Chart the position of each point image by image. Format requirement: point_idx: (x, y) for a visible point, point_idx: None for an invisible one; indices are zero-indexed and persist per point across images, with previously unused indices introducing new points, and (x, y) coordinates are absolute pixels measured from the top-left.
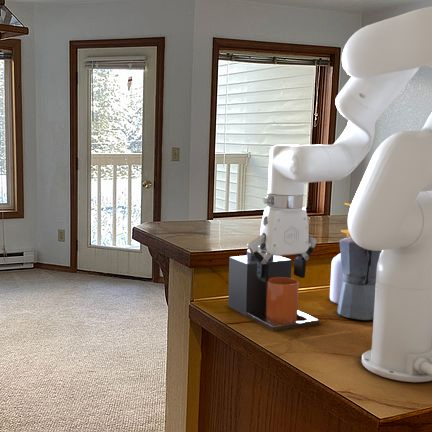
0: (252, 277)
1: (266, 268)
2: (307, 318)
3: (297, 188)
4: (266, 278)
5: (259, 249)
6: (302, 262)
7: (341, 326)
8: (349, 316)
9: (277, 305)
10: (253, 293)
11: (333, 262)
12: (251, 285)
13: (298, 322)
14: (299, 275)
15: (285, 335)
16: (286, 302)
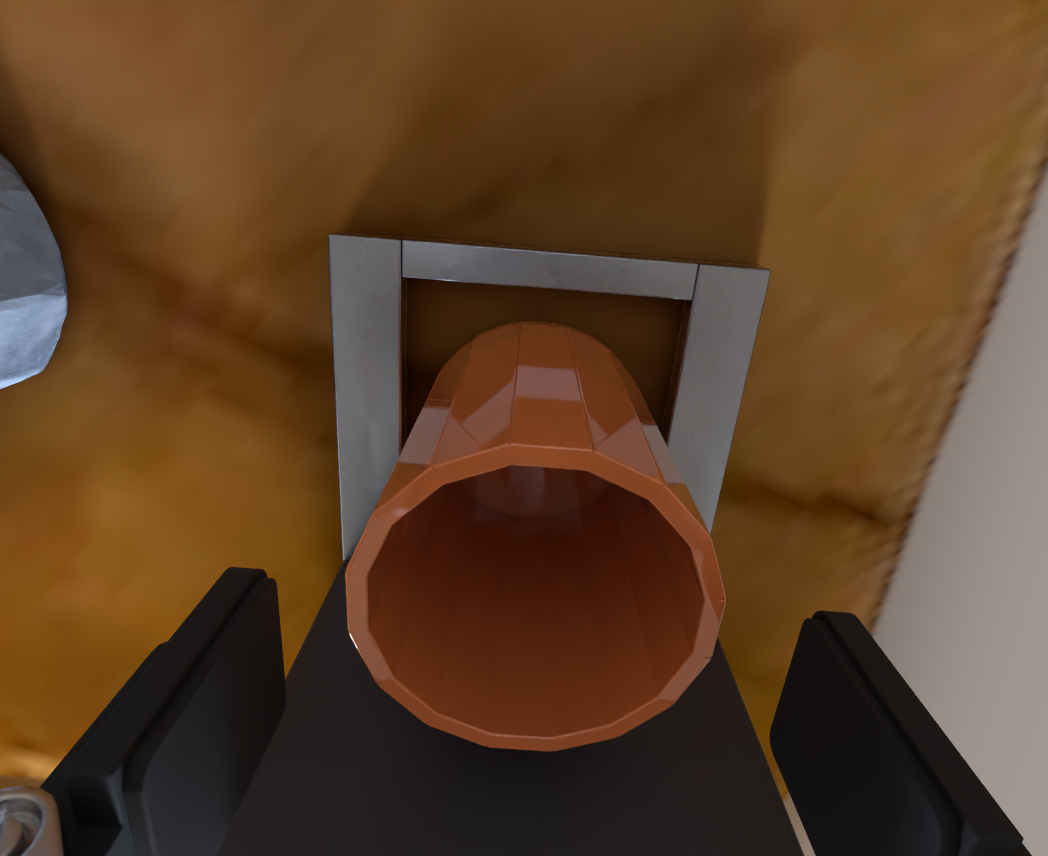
0: (726, 818)
1: (963, 765)
2: (394, 304)
3: None
4: (861, 638)
5: None
6: (154, 758)
7: (194, 108)
8: (24, 193)
9: (651, 421)
10: None
11: None
12: (712, 744)
13: (523, 261)
14: (273, 625)
15: (743, 150)
16: (598, 383)
